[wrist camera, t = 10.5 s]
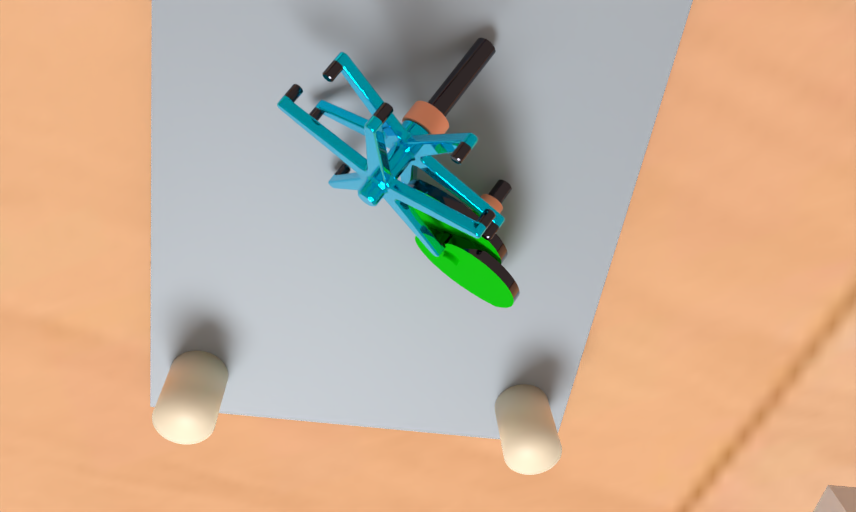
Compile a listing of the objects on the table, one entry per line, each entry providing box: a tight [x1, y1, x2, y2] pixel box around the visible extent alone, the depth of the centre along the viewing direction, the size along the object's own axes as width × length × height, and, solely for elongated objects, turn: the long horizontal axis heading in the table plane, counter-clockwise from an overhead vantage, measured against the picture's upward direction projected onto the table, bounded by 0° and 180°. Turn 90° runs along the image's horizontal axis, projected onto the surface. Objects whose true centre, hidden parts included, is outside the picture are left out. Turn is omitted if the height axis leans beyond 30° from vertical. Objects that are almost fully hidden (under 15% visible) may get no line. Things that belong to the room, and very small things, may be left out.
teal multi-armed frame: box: [277, 38, 520, 308], centre depth 28 cm, size 12×7×8 cm
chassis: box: [150, 0, 693, 475], centre depth 29 cm, size 18×25×4 cm
